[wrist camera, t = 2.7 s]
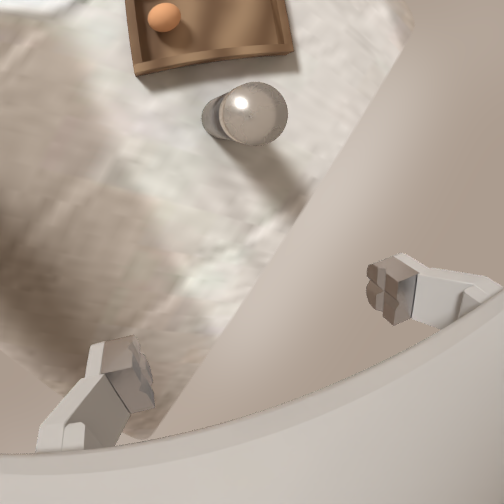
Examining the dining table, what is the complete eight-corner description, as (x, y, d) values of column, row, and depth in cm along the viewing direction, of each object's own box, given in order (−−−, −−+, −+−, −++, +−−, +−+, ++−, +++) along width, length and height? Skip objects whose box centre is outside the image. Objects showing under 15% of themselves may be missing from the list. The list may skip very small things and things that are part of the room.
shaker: (204, 143, 35) (229, 151, 24) (197, 100, 33) (218, 86, 22) (247, 134, 36) (291, 140, 25) (240, 93, 34) (282, 79, 23)
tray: (135, 76, 30) (134, 73, 28) (124, -10, 25) (123, -18, 23) (285, 55, 34) (294, 51, 31) (270, -25, 29) (277, -32, 26)
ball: (149, 38, 28) (149, 29, 25) (146, 12, 27) (145, 1, 23) (181, 32, 29) (184, 23, 26) (177, 6, 27) (180, -5, 24)
